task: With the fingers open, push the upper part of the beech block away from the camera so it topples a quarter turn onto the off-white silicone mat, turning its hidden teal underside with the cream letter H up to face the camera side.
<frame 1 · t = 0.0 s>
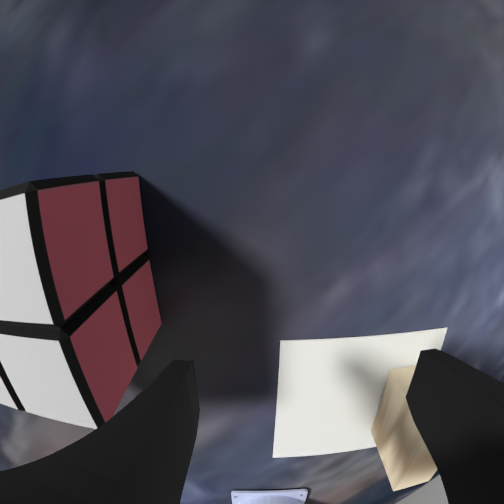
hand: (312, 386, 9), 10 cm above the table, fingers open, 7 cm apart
beech block: (396, 398, 21), resting on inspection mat
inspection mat: (357, 403, 21), on the table
puzzle cube: (84, 257, 18), on the table
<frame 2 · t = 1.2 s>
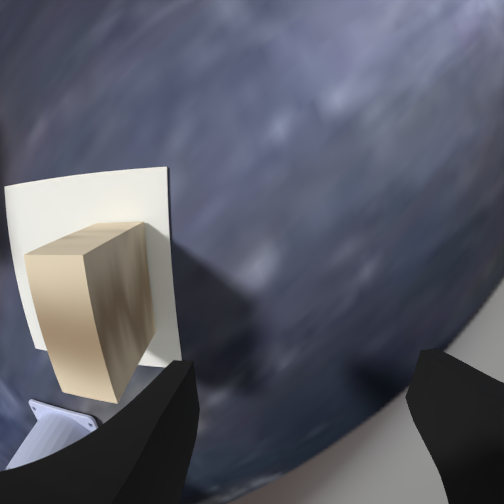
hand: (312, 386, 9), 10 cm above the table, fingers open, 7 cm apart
beech block: (126, 278, 18), resting on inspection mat
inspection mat: (81, 276, 18), on the table
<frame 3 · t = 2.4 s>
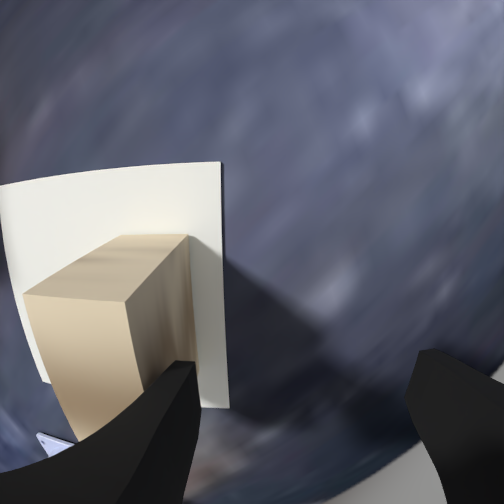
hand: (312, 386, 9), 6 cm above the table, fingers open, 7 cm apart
beech block: (161, 305, 14), resting on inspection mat, touching gripper
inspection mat: (99, 301, 14), on the table
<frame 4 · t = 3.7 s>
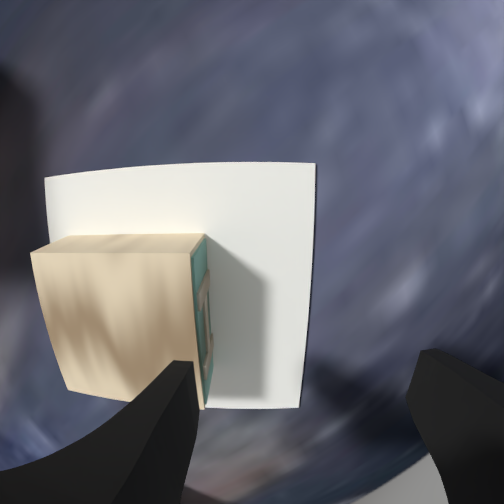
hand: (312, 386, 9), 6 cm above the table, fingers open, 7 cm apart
beech block: (207, 323, 13), point 2 cm above the table, tilted 90°, touching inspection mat
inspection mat: (170, 305, 14), on the table
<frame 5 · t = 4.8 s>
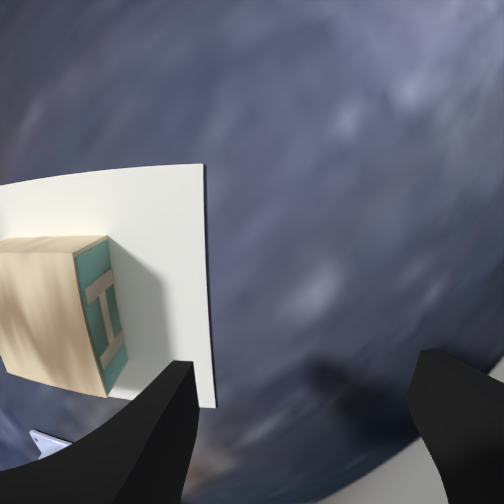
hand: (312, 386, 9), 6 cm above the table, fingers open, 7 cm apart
beech block: (107, 318, 13), point 2 cm above the table, tilted 90°, touching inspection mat
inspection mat: (87, 301, 14), on the table
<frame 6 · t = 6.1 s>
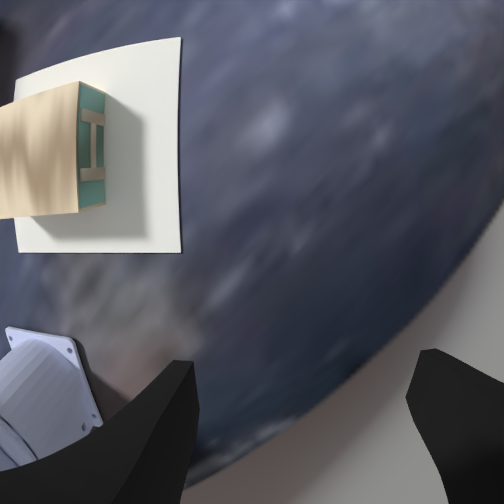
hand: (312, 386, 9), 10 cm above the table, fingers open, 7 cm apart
beech block: (93, 145, 14), point 2 cm above the table, tilted 90°, touching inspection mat
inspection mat: (79, 150, 16), on the table
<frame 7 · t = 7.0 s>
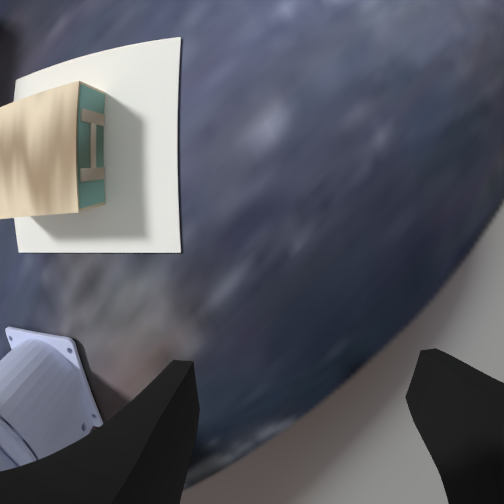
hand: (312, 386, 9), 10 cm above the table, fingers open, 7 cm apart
beech block: (93, 145, 14), point 2 cm above the table, tilted 90°, touching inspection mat
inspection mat: (79, 150, 16), on the table
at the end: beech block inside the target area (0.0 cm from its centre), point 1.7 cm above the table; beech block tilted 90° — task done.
